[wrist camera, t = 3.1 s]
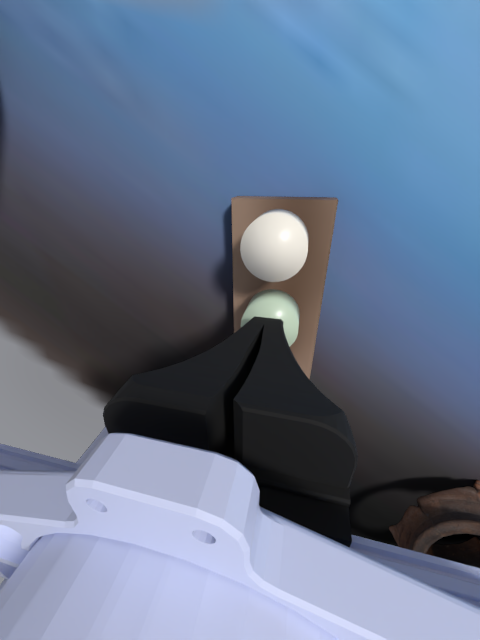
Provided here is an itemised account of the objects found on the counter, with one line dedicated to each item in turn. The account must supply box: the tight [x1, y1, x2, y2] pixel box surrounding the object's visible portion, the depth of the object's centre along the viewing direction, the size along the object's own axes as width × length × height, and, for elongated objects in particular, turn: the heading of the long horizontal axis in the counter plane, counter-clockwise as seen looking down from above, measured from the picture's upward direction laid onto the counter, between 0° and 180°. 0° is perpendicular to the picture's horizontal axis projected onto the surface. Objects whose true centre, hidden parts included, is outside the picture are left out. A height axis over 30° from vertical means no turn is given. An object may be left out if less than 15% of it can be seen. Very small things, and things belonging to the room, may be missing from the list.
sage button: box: [241, 289, 300, 347], centre depth 14 cm, size 3×3×2 cm
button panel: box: [231, 196, 338, 379], centre depth 16 cm, size 5×11×1 cm, turn 0°
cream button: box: [240, 209, 308, 282], centre depth 12 cm, size 3×3×2 cm
